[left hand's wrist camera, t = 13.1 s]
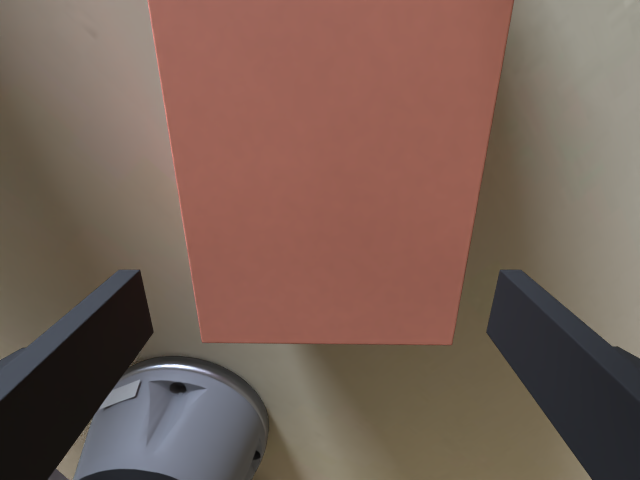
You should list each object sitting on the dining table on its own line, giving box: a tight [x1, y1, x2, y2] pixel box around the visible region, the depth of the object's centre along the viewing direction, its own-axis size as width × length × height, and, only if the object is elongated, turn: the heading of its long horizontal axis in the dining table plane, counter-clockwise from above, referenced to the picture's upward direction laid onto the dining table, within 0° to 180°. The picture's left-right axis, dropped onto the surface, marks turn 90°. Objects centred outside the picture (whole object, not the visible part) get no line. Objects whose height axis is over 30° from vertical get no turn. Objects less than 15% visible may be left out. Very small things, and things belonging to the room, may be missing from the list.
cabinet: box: [148, 0, 514, 345], centre depth 17 cm, size 17×12×11 cm, turn 0°
